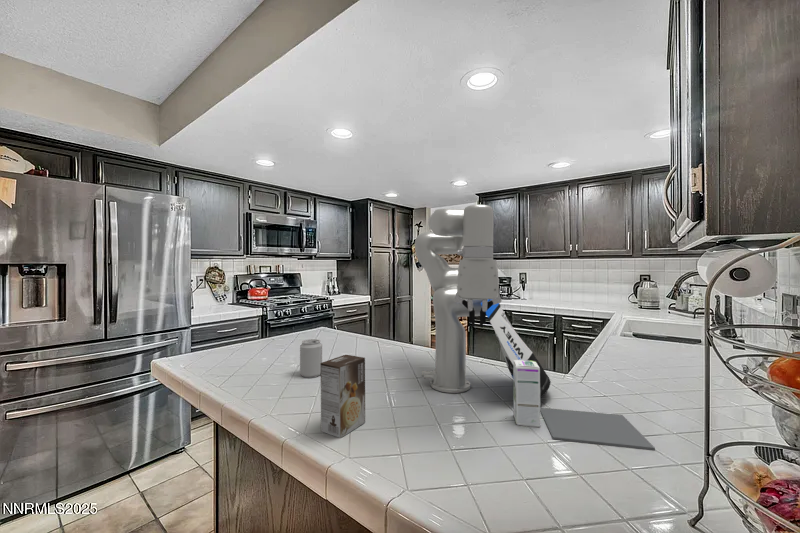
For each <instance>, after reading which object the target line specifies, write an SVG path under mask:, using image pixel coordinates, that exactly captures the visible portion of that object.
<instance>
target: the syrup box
mask: <svg viewBox="0 0 800 533" xmlns="http://www.w3.org/2000/svg"><path fill="white" fill-rule="evenodd" d="M512 379H513V380H512V382H513V384H512V386H513V391H512V392H513V397H512V398H513V417H514V422H515V425H517V426H522V427H523V426H524V427H531V428H532V427H534V428H541V412H540V408H541V398H540V367H539V366H538V364H537V363H536V361H531V360H514V361H513V378H512Z"/></svg>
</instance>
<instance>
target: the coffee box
mask: <svg viewBox="0 0 800 533" xmlns="http://www.w3.org/2000/svg"><path fill="white" fill-rule="evenodd" d="M320 364H321V374H320V431H321V432H322V433H326V434H328V435H331V436H334V437H335V438H336V437H337V438H339V439H342V438H343V437H344V436H346V435H348V434H349V433H350V432H352V431H355V429H357V428H359V427H360V426H362V425H364V424H365V423H366V357H363V356H357V355H356V356H355V355H351V354H343V355H340V356H337V357H334V358H331V359H328V360H325V361H322V363H320Z"/></svg>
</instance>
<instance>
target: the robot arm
mask: <svg viewBox="0 0 800 533" xmlns="http://www.w3.org/2000/svg"><path fill="white" fill-rule="evenodd" d="M428 227H429V229H430V230H431V231H425V232H422V233H419V234H418V235H417V236H416V238H415V241H414V251H415V256H416V259H417V261H418V263H419V264H420V265H421V267H422V269H424V271H425V273H426V276H427V279H428V281H429V284H430V286H431V289H432V290H433V292H434V293H433V295H432V305H433V310H434V311H433V312H434V323H435V325H434V326H435V360H434V361H435V368H434V370H431V371H428V370H422V371H421V378H424V379H425V380H429V379H430V387H431V388H433V390H436V391H437V392H442V393H446V394H447V393H450V394H459V393H464V392H467V391H469V390H470V389H471V382H470V381H469V380H468V379H466V368H467V367H466V362H467V359H466V356H467V355H466V353H467V352H466V351H467V350H466V349H467V338H466V337H467V334H466V333H467V332H466V329H465V326H464V324H462V323H461V321H460V320H459V318H462V317H464V318H465V317H468V323H469V324H471V328H474V327H475V323H476V322H475V320H476V317H479V328H484V325H486V323H487V318H486V317H487V315H486V311H487V310H488V309H489V308H490V307H491V306H492V305H494V304H498V303H499V304H500V303H502V302H503V300H502V298H501V295H500V292H499V288H500V287H499V283H500V282H499V269H498V267H499V266H498V262H497V259H494V209H493V208H492V206H491V205H488V204H471V205H467V206H466V207H464V208H463V209H462V208H439V209H435V210H434V211H433V213H431V215H430V216H429V218H428ZM441 255H457V256H461V257H462V259H459V263H458V267H452V266H449V263H448V261H447V260H446V259H445V258H444V257H442V256H441ZM488 299H489V301H488ZM490 299H493V300H490ZM481 302H482V306H481V304H480V303H481Z"/></svg>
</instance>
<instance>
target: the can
mask: <svg viewBox="0 0 800 533" xmlns="http://www.w3.org/2000/svg"><path fill="white" fill-rule="evenodd" d="M299 362H300V363H299V374H300V375H301V376H302V377H303V378H308V379H312V378H316V377H319V376H321V364H320V363H322V362H323V343H321V340H320V339H318V338H317V339H316V338H309V339H305V340H302V342H301V345H300V346H299Z"/></svg>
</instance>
